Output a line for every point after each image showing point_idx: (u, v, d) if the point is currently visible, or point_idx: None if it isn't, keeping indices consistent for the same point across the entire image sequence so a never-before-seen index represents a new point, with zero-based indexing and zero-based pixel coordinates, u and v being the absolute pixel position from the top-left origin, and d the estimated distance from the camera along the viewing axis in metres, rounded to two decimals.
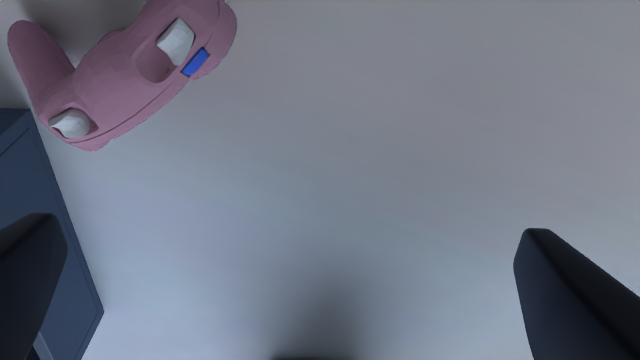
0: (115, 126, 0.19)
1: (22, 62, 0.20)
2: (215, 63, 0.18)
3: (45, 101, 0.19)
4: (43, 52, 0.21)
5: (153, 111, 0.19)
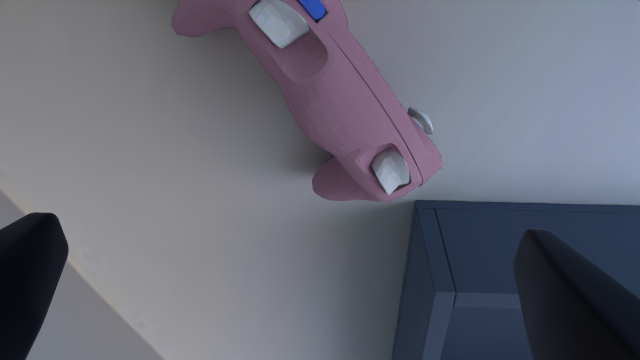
0: (392, 122, 0.14)
1: (337, 193, 0.19)
2: None
3: (363, 188, 0.16)
4: (334, 170, 0.19)
5: (373, 70, 0.13)
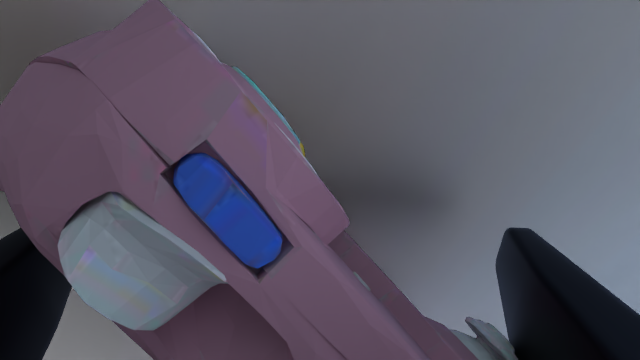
0: None
1: None
2: (253, 123, 0.04)
3: None
4: None
5: None
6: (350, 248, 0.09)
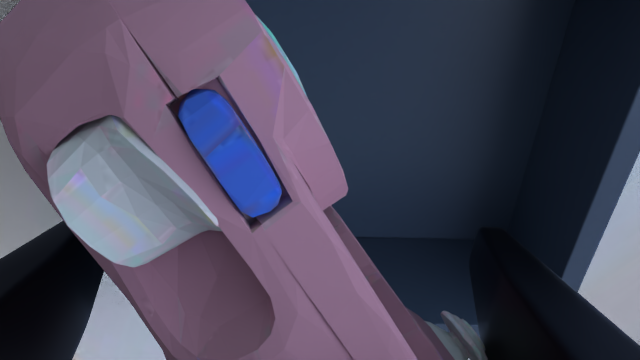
0: None
1: None
2: (269, 66, 0.04)
3: None
4: None
5: (399, 357, 0.05)
6: (337, 226, 0.09)
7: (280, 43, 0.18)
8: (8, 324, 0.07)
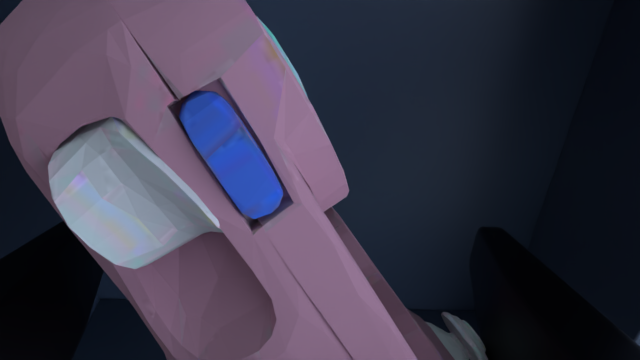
0: None
1: None
2: (271, 68, 0.04)
3: None
4: None
5: (400, 358, 0.05)
6: (338, 227, 0.09)
7: None
8: (8, 324, 0.07)
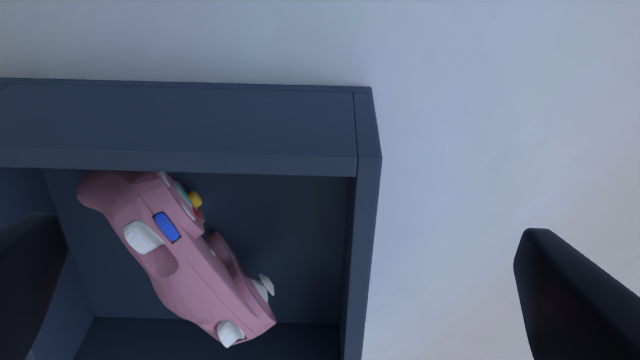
0: (228, 306, 0.19)
1: None
2: (175, 206, 0.18)
3: (212, 336, 0.21)
4: None
5: (213, 275, 0.18)
6: (217, 241, 0.23)
7: None
8: None
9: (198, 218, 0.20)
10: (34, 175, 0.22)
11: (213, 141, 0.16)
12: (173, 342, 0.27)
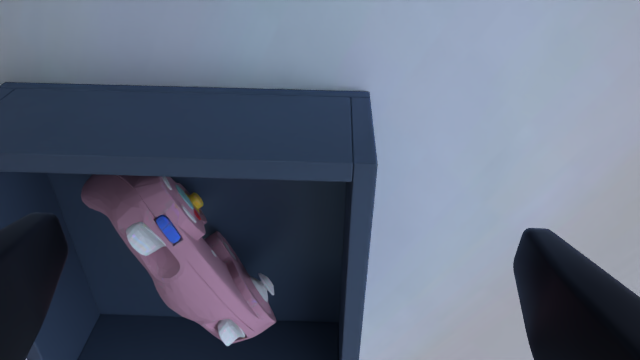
0: (228, 306, 0.20)
1: None
2: (176, 209, 0.18)
3: (213, 334, 0.22)
4: None
5: (213, 276, 0.19)
6: (218, 242, 0.23)
7: None
8: None
9: (199, 220, 0.21)
10: (40, 176, 0.22)
11: (213, 147, 0.17)
12: (176, 339, 0.27)
